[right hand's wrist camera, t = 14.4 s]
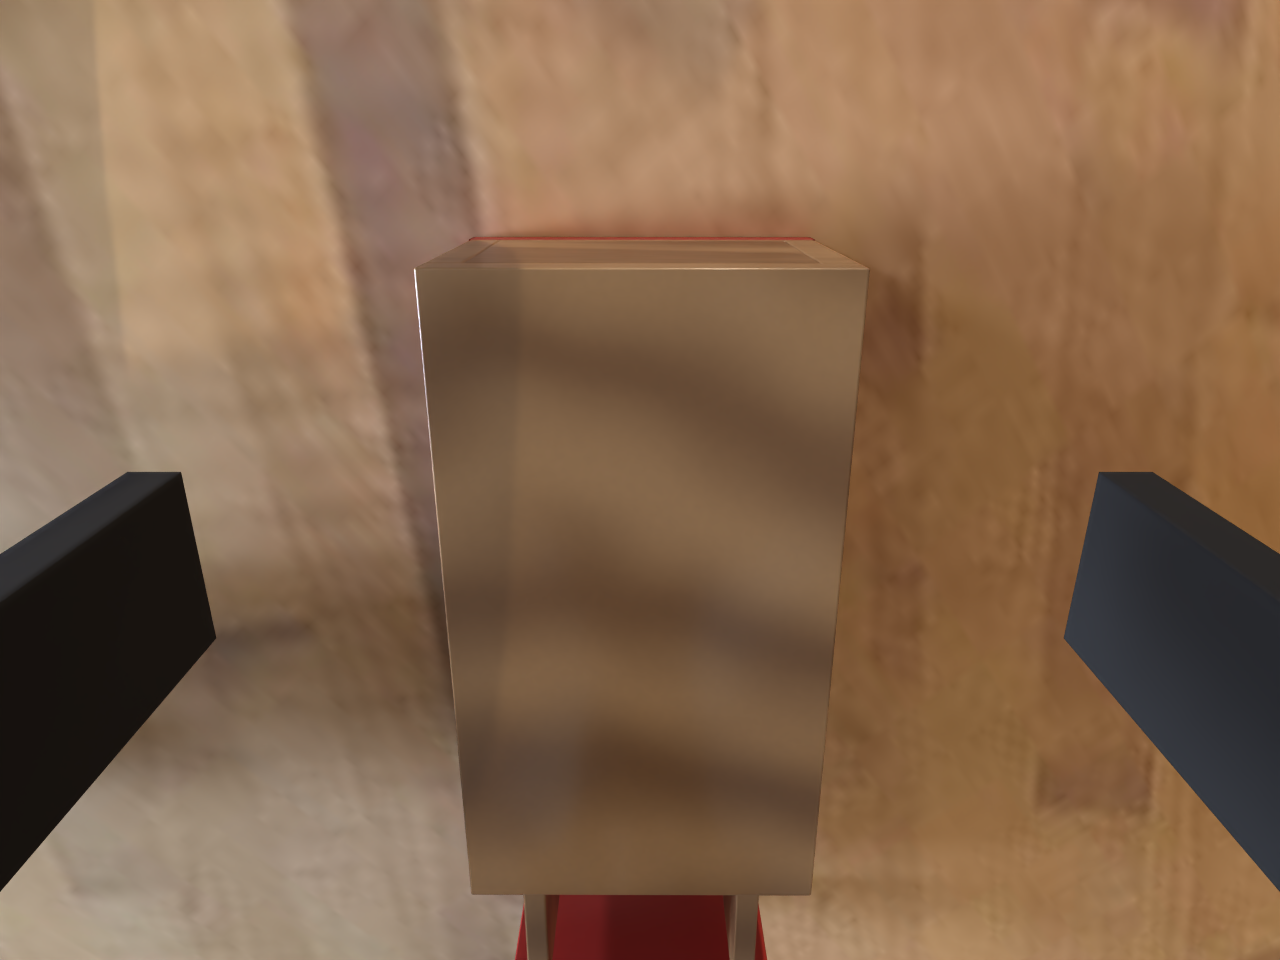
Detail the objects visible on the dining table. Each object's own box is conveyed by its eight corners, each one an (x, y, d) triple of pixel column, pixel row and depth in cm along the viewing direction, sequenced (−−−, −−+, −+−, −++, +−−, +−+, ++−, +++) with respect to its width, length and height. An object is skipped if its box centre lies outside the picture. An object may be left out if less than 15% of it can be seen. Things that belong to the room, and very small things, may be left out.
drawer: (749, 991, 40) (767, 1132, 35) (532, 991, 40) (514, 1132, 35) (780, 511, 32) (811, 592, 26) (503, 511, 32) (471, 592, 26)
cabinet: (775, 739, 36) (811, 896, 29) (507, 739, 36) (470, 895, 29) (810, 237, 29) (870, 267, 21) (473, 237, 29) (412, 267, 21)
